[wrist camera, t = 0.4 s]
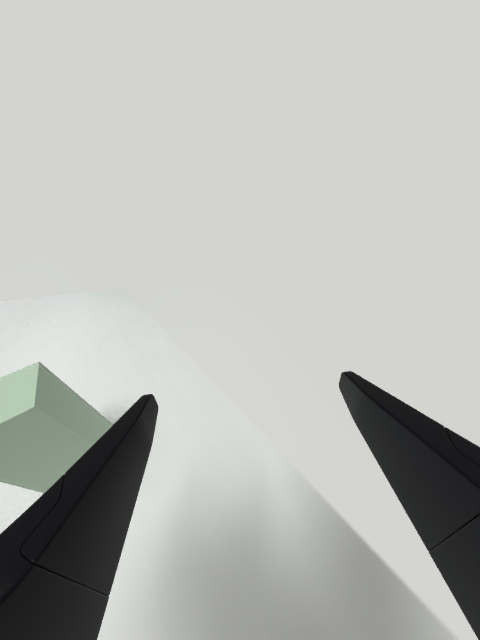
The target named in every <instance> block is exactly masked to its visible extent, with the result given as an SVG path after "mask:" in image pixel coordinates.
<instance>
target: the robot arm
mask: <svg viewBox="0 0 480 640" xmlns="http://www.w3.org/2000/svg"><path fill="white" fill-rule="evenodd" d="M339 388H340V391H341V393H342V395H343V398H344V400H345V402H346V404H347V406H348V409H349V411H350V413H351V415H352V417H353V420H354V422H355V423H356V425H357V427H358V429H359V430H360V432H361V434H362V436H363V437H364V439H365V441H366V443H367V444H368V446H369V448H370V450H371V452H372V453H373V455H374V457H375V459H376V460H377V462H378V464H379V466H380V467H381V469H382V471H383V473H384V474H385V476H386V478H387V480H388V481H389V483H390V485H391V487H392V488H393V490H394V492H395V494H396V495H397V497H398V499H399V501H400V502H401V504H402V506H403V507H404V509H405V511H406V513H407V515H408V516H409V518H410V520H411V522H412V523H413V525H414V527H415V529H416V530H417V532H418V534H419V536H420V537H421V539H422V541H423V543H424V544H425V546H426V548H427V550H428V551H429V554H430V555H431V557H432V559H433V561H434V562H435V564H436V566H437V568H438V569H439V571H440V572H441V574H442V576H443V578H444V580H445V582H446V583H447V585H448V587H449V588H450V590H451V592H452V594H453V596H454V597H455V599H456V601H457V603H458V604H459V606H460V608H461V610H462V611H463V613H464V615H465V617H466V618H467V620H468V622H469V624H470V625H471V627H472V629H473V631H474V632H475V634H476V636H477V638H478V640H480V447H478V446H477V445H475V444H473V443H472V442H470V441H468V440H467V439H465V438H463V437H461V436H459V435H458V434H456V433H454V432H453V431H451V430H449V429H448V428H444V426H442V425H441V424H439V423H438V422H436V421H434V420H432V419H431V418H429V417H427V416H426V415H424V414H422V413H421V412H419V411H417V410H416V409H414V408H412V407H411V406H409V405H407V404H405V403H404V402H402V401H401V400H399V399H397V398H396V397H394V396H392V395H390V394H389V393H387V392H385V391H384V390H382V389H380V388H379V387H377V386H375V385H373V384H372V383H370V382H368V381H367V380H365V379H363V378H362V377H360V376H359V375H357V374H355V373H353V372H350V371H349V372H342V374H341V378H340V382H339ZM157 414H158V404H157V402H156V400H155V398H154V396H153V395H152V394H147V395H143V396H142V397H141V398H140V399H139V400H138V401H137V402H136V403H135V404H134V405H133V406H132V407H131V408H130V409H129V410H128V411H127V412H126V413H125V414H124V415H123V416H122V417H121V418H120V419H119V420H118V421H117V422H116V423H115V424H114V425H113V426H112V427H111V428H110V429H109V430H108V431H107V432H106V433H105V434H104V435H103V436H102V437H101V438H99V439H98V440H97V441H96V442H95V443H94V444H93V445H92V446H91V447H90V448H89V449H88V450H87V451H86V452H85V453H84V454H83V455H82V456H81V457H80V458H79V459H78V460H77V461H76V462H75V463H74V464H73V465H72V466H71V467H70V468H69V469H68V470H67V471H66V473H65V474H64V475H62V476H61V477H60V478H59V479H58V480H57V481H56V482H55V483H54V484H53V485H52V486H51V487H50V488H49V489H48V490H47V491H46V492H45V493H44V494H43V495H42V496H41V497H40V498H39V499H38V500H37V501H36V502H35V503H34V504H33V505H32V506H30V507H29V508H28V509H27V510H26V511H25V512H24V513H23V514H22V515H21V516H20V517H19V518H17V519H16V520H15V521H14V522H13V523H12V524H11V525H10V526H9V527H8V528H7V529H5V530H4V531H3V532H2V533H1V534H0V640H97V638H98V634H99V631H100V627H101V624H102V620H103V617H104V613H105V609H106V606H107V602H108V599H109V594H110V591H111V588H112V584H113V581H114V577H115V574H116V570H117V567H118V563H119V560H120V556H121V552H122V549H123V545H124V542H125V538H126V535H127V531H128V528H129V524H130V521H131V517H132V514H133V510H134V507H135V503H136V500H137V496H138V492H139V489H140V485H141V482H142V478H143V475H144V471H145V468H146V464H147V461H148V457H149V454H150V450H151V446H152V442H153V436H154V431H155V425H156V420H157Z"/></svg>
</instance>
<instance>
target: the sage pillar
mask: <svg viewBox="0 0 480 640" xmlns="http://www.w3.org/2000/svg"><path fill="white" fill-rule="evenodd" d="M112 426H113V424H112V423H111V422H109V421H108V420H107V419H106V418H105V417H104V416H102V415H101V414H100V413H99V412H98V411H97V410H95V409H94V408H93V407H92V406H91V405H89V404H88V403H87V402H86V401H85V400H84V399H82V398H81V397H80V396H79V395H78V394H77V393H75V392H74V391H73V390H72V389H71V388H70V387H68V386H67V385H66V384H65V383H64V382H62V381H61V380H60V379H59V378H58V377H57V376H55V375H54V374H53V373H52V372H51V371H50V370H48V369H47V368H46V367H45V366H44V365H42V364H41V363H40V362H37V363H35V364H32V365H30V366H27V367H25V368H23V369H20V370H18V371H15V372H13V373H11V374H8V375H6V376H3V377H1V378H0V482H3V483H7V484H11V485H15V486H19V487H23V488H26V489H30V490H34V491H38V492H42V493H45V492H46V491H47V490H48V489H49V488H50V487H51V486H52V485H53V484H54V483H55V482H56V481H57V480H58V479H59V478H60V477H61V476H62V475H64V474H65V473H66V471H67V470H68V469H69V468H70V467H71V466H72V465H73V464H74V463H75V462H76V461H77V460H78V459H79V458H80V457H81V456H82V455H83V454H84V453H85V452H86V451H87V450H88V449H89V448H90V447H91V446H92V445H93V444H94V443H95V442H96V441H97V440H98V439H99V438H101V437H102V436H103V435H104V434H105V433H106V432H107V431H108V430H109V429H110V428H111V427H112Z"/></svg>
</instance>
